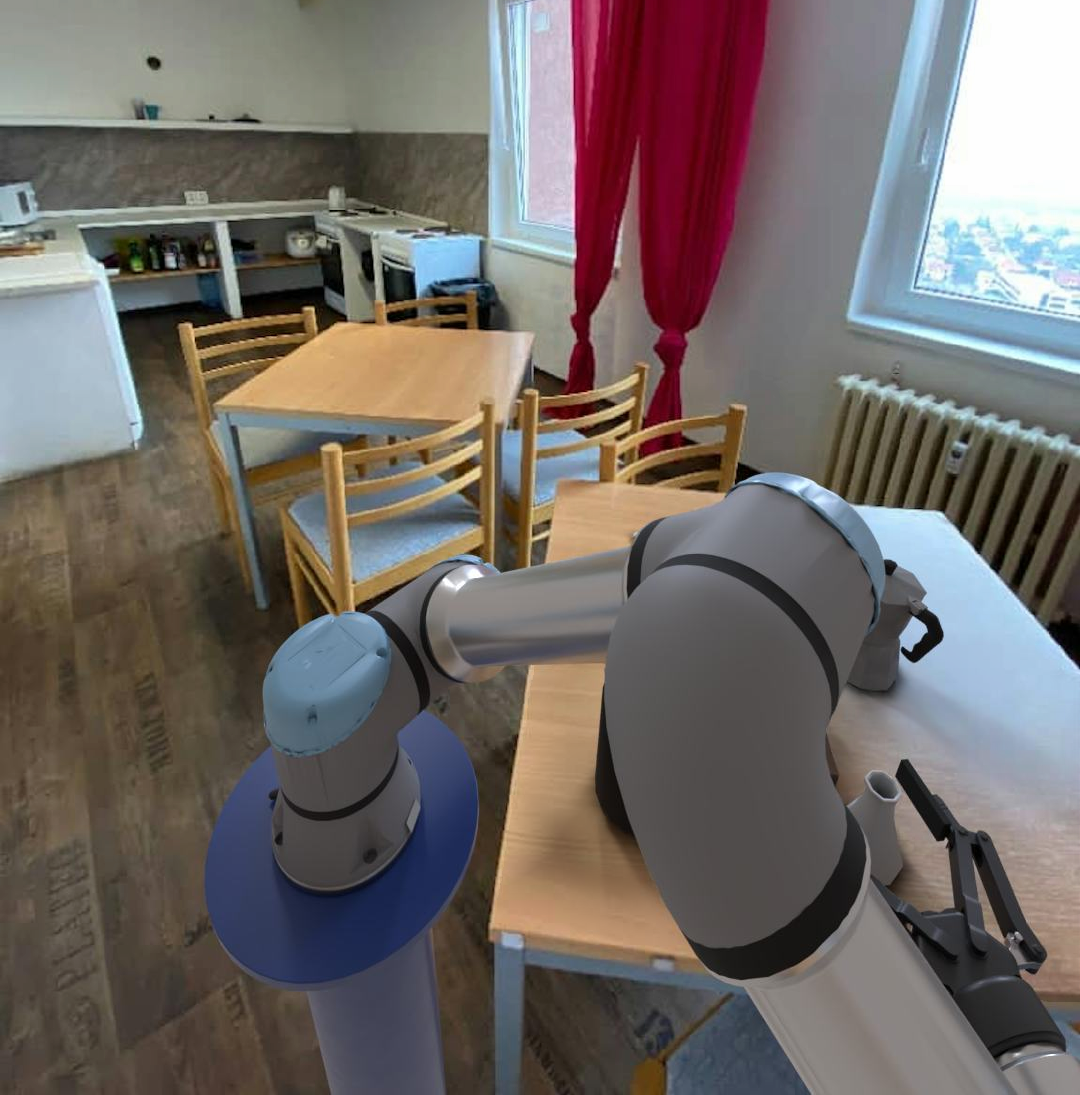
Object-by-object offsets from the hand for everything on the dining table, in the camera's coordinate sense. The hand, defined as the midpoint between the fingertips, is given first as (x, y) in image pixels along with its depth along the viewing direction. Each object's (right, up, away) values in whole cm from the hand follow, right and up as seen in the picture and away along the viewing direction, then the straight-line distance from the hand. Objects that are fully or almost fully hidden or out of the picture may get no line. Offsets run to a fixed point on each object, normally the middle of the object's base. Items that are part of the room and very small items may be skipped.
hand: (851, 772), depth 65 cm
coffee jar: (-22, -5, +3) cm, 23 cm away
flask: (0, -7, -1) cm, 7 cm away
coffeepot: (+12, +1, +19) cm, 23 cm away
